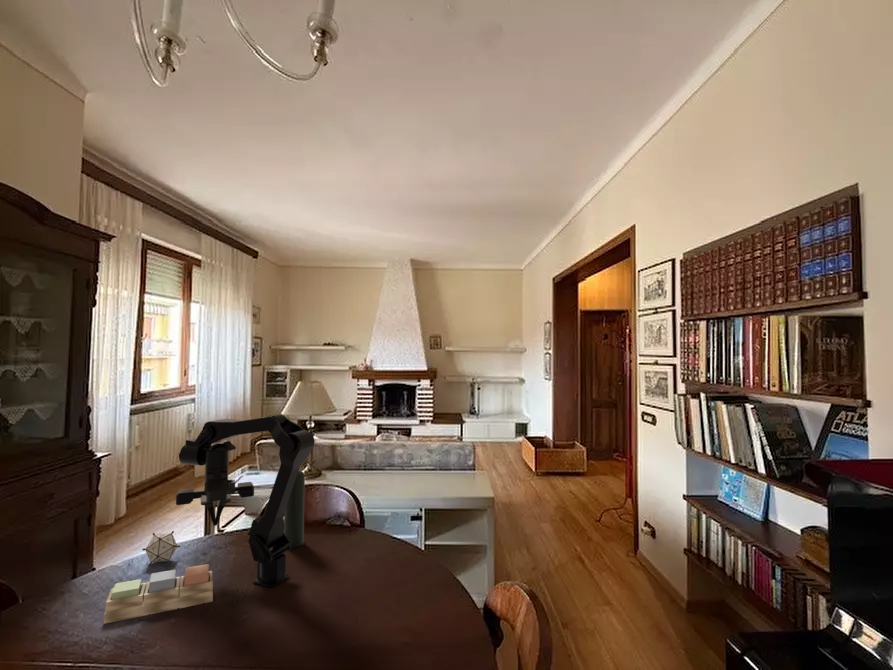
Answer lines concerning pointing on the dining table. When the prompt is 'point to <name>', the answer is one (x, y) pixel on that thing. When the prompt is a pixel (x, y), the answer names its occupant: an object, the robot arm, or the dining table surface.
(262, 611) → the dining table surface
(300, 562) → the dining table surface
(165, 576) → the slate button
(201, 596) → the console
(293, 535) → the wine bottle
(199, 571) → the terracotta button
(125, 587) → the sage button
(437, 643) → the dining table surface
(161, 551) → the game die
